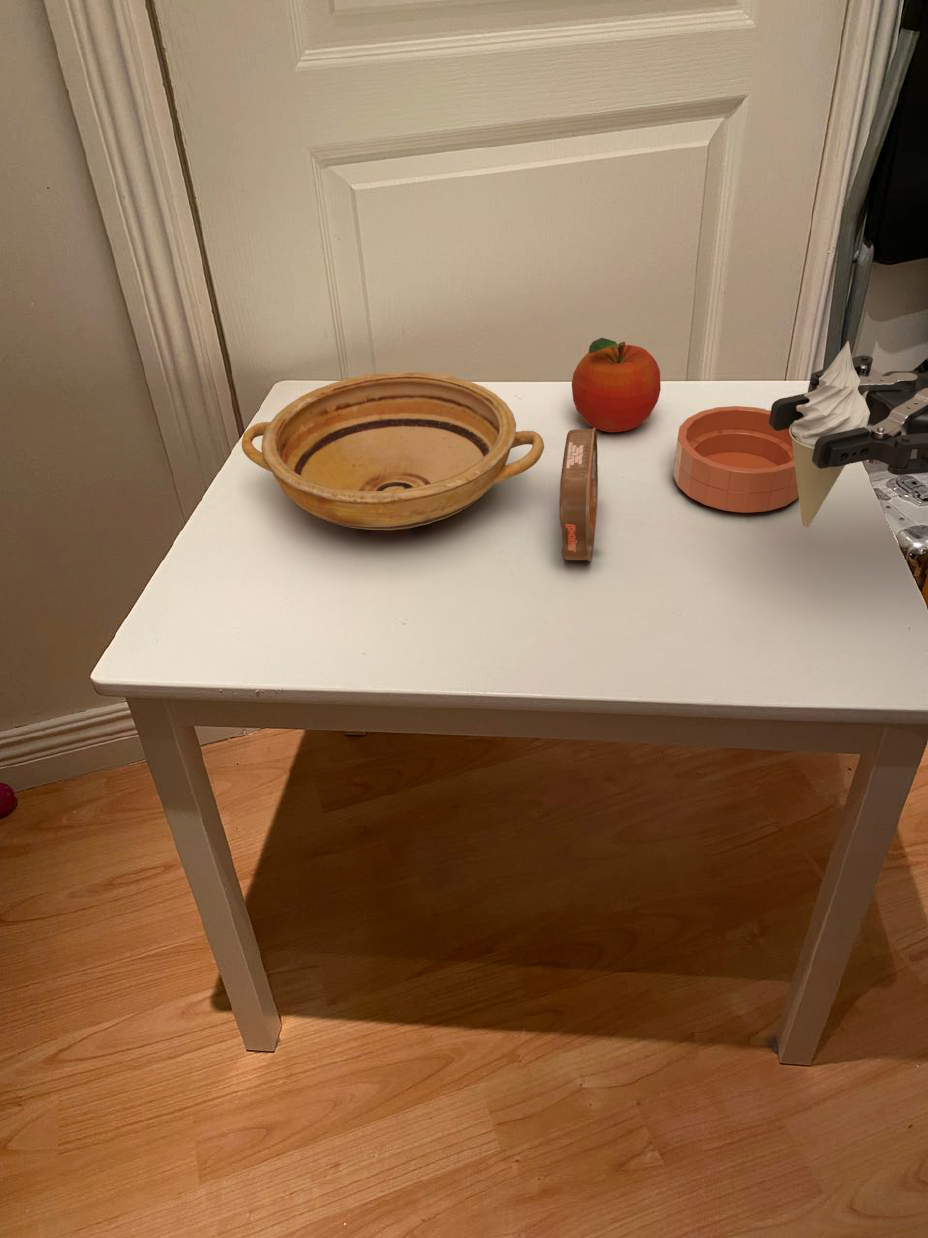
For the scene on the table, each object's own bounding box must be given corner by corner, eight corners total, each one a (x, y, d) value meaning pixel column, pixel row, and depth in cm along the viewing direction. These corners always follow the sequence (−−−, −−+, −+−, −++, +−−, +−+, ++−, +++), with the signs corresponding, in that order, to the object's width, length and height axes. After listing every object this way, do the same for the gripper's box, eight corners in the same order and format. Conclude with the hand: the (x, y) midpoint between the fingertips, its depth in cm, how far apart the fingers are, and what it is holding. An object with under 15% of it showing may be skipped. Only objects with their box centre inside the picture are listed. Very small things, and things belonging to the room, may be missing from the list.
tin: (590, 580, 83) (594, 500, 77) (554, 578, 83) (556, 498, 78) (599, 487, 94) (603, 411, 88) (567, 485, 94) (569, 410, 89)
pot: (820, 468, 95) (830, 424, 91) (778, 531, 87) (788, 486, 84) (701, 438, 100) (707, 395, 97) (652, 495, 92) (657, 451, 89)
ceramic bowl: (215, 563, 87) (195, 490, 82) (290, 432, 105) (277, 366, 100) (531, 581, 83) (531, 506, 78) (553, 442, 101) (554, 373, 96)
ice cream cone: (848, 543, 70) (897, 355, 60) (780, 545, 70) (817, 358, 61) (830, 505, 74) (873, 323, 64) (765, 508, 74) (798, 326, 65)
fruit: (674, 431, 101) (684, 344, 95) (596, 452, 99) (601, 364, 92) (630, 394, 108) (636, 310, 102) (555, 413, 106) (557, 328, 99)
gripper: (946, 305, 72) (749, 344, 69) (1092, 384, 62) (867, 435, 59) (921, 393, 77) (735, 434, 74) (1052, 481, 67) (842, 533, 63)
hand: (795, 434), depth 66 cm, fingers closed on ice cream cone, 5 cm apart
